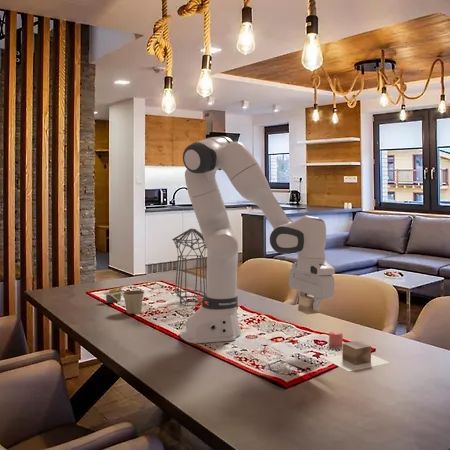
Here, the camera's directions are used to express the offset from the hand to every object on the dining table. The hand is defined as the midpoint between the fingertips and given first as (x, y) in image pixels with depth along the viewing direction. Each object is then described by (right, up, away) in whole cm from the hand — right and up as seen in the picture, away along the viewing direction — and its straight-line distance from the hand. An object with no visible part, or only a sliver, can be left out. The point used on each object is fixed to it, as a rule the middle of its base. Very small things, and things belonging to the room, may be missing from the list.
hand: (308, 306), depth 162 cm
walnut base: (+13, -15, -11) cm, 22 cm away
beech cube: (0, -2, 0) cm, 2 cm away
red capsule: (+10, -15, +4) cm, 18 cm away
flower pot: (-67, -11, +50) cm, 85 cm away
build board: (+13, -16, -11) cm, 23 cm away
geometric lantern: (-43, -10, +66) cm, 80 cm away
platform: (-80, -10, +69) cm, 106 cm away
